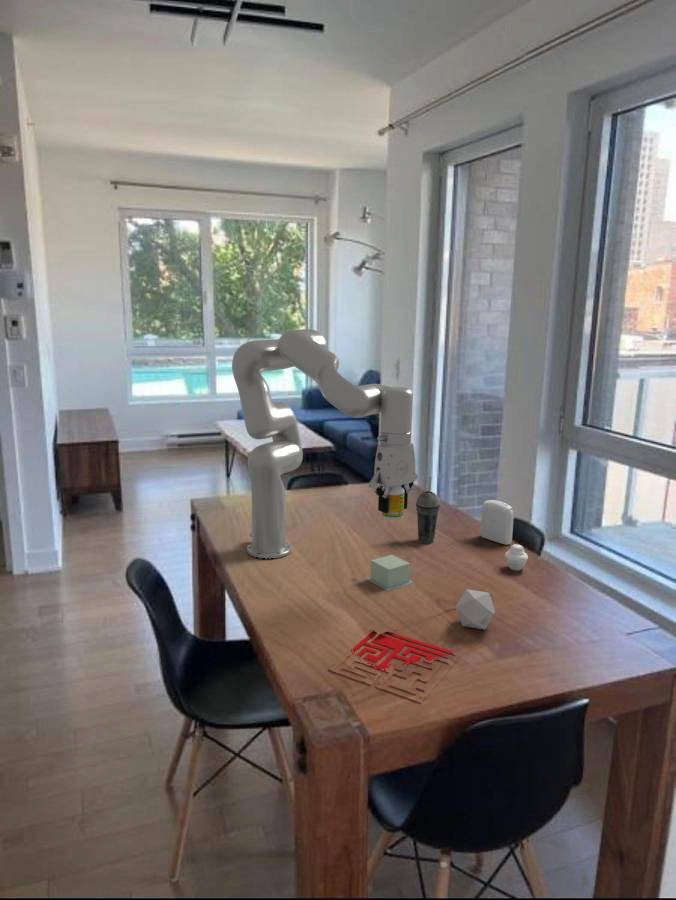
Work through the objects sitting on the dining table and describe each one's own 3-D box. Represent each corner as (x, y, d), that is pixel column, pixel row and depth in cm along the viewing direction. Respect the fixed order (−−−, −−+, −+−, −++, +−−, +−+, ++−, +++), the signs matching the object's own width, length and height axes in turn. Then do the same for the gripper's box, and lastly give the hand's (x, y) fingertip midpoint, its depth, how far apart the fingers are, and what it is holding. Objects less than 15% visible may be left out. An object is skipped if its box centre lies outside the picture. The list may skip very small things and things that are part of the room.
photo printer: (477, 536, 204) (480, 498, 201) (486, 533, 206) (489, 496, 204) (505, 546, 196) (508, 507, 193) (513, 543, 199) (517, 504, 196)
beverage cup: (411, 543, 197) (414, 479, 193) (417, 535, 204) (420, 473, 199) (434, 546, 194) (438, 481, 190) (440, 538, 201) (444, 476, 197)
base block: (370, 578, 168) (371, 560, 167) (391, 572, 172) (391, 554, 171) (388, 588, 163) (389, 569, 161) (409, 581, 167) (410, 563, 165)
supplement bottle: (402, 521, 160) (403, 482, 158) (380, 519, 161) (381, 481, 159) (404, 514, 165) (406, 477, 163) (383, 512, 167) (384, 475, 164)
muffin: (527, 573, 176) (529, 549, 175) (504, 571, 177) (506, 547, 176) (526, 565, 182) (528, 541, 181) (503, 563, 183) (505, 539, 182)
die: (475, 641, 142) (503, 606, 141) (444, 614, 145) (471, 580, 144) (479, 637, 149) (505, 604, 149) (449, 611, 152) (475, 579, 152)
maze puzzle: (327, 672, 128) (328, 669, 128) (376, 630, 145) (376, 628, 145) (421, 706, 118) (421, 702, 118) (461, 657, 135) (462, 654, 135)
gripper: (378, 445, 151) (375, 519, 155) (431, 437, 161) (428, 507, 165) (358, 439, 157) (356, 511, 161) (411, 432, 167) (408, 500, 171)
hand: (392, 508), depth 163 cm, fingers closed on supplement bottle, 5 cm apart
